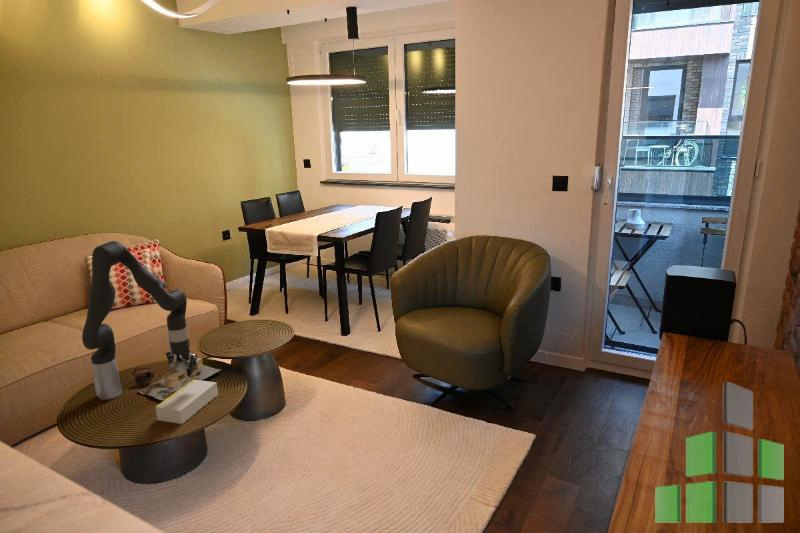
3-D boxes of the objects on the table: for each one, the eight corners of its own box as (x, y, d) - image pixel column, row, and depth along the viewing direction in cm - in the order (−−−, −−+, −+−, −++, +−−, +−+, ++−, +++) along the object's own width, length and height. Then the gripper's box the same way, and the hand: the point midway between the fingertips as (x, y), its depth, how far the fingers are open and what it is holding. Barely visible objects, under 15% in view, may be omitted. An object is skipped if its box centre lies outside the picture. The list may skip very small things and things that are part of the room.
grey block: (171, 371, 207) (170, 364, 206) (178, 366, 211) (177, 359, 210) (180, 372, 206) (179, 365, 205) (187, 367, 210) (186, 360, 209)
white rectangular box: (157, 420, 206) (155, 406, 204) (195, 391, 228) (193, 379, 227) (182, 424, 203) (180, 410, 201) (218, 394, 225) (216, 382, 223)
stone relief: (136, 394, 228) (164, 404, 218) (135, 388, 228) (163, 398, 218) (197, 365, 255) (223, 373, 245) (196, 360, 254) (223, 368, 244)
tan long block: (164, 386, 204) (162, 376, 203) (193, 366, 221) (191, 357, 220) (174, 387, 203) (173, 377, 202) (202, 367, 219) (201, 358, 218)
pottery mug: (127, 387, 235) (127, 369, 237) (143, 386, 243) (143, 369, 245) (147, 383, 231) (147, 365, 233) (163, 383, 240) (162, 365, 242)
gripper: (157, 339, 206) (163, 377, 210) (187, 343, 202) (192, 381, 206) (170, 332, 212) (176, 369, 217) (199, 335, 209) (204, 372, 213)
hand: (184, 374), depth 212 cm, fingers closed on tan long block, 5 cm apart
